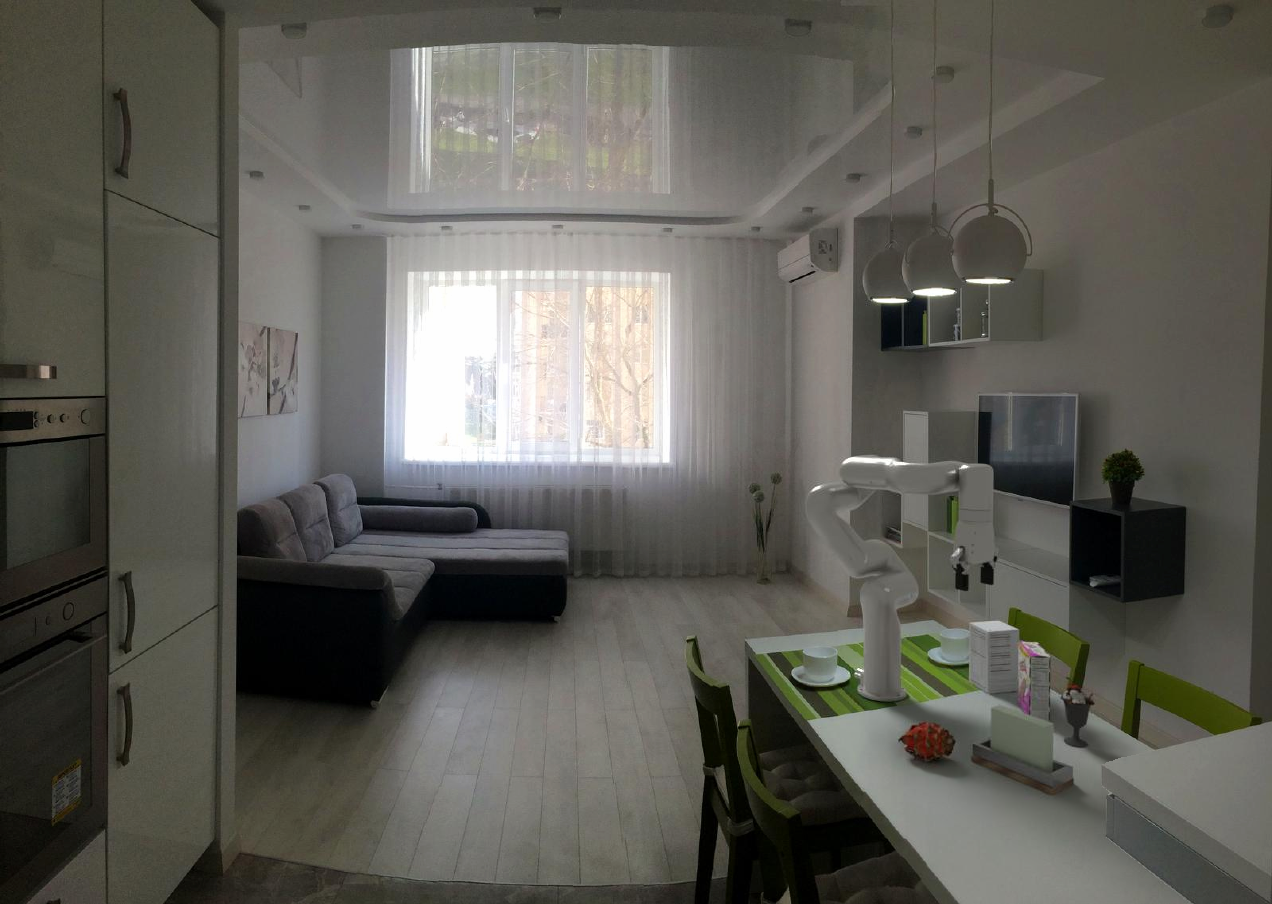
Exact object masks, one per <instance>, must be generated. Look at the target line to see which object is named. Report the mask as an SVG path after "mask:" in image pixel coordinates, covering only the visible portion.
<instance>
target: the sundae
mask: <svg viewBox="0 0 1272 904" xmlns="http://www.w3.org/2000/svg"><path fill="white" fill-rule="evenodd" d="M1065 678H1066V680H1068V681H1069V685H1068V686H1067V687H1066V690H1065V691H1064V693H1063V694H1062V695H1061V696H1060V699H1061V701H1063V705H1064V712H1065V713H1064V714H1065V719H1066V722H1067V723H1068V724H1069V725H1070V726H1071V727H1072V736H1071V737H1070V736H1069V737H1065V738H1064V739H1063V742H1064V743H1065V744H1066V745H1068V746H1070V747H1075V748H1087V747H1088V746H1089V743H1088V741H1086V740H1085V739H1083V738H1081V737H1080V729H1081V728H1084V727H1085V726H1086V725H1087V723H1088V719H1089V712H1090V710H1091V709H1090V708H1091V706H1095V701H1094V699H1092V698H1091V697H1092V696H1093V693H1091V694H1090V695H1089V696H1087V692H1086V691H1085V690H1084V689H1083V688H1081V687H1079V686H1078V685H1076V684H1075V683H1074V682H1073V680H1072V679H1071V678H1070V677H1069V676H1065ZM1071 684H1072V685H1071Z"/></svg>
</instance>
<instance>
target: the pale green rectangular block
mask: <svg viewBox="0 0 1272 904" xmlns="http://www.w3.org/2000/svg"><path fill="white" fill-rule="evenodd" d="M990 709H991V711H990V714H991V715H990V736H991V749H993V750H995V751H998V752H1000V753H1003V754H1005V755H1008V756H1010V757H1013V758H1015V759H1018V760H1020V761H1023V762H1025V763H1028V764H1030V765H1033V766H1035V767H1038V768H1040V769H1043V770H1045V771H1048V772H1050V773H1052V772H1053V759H1054V732H1055V731H1054V725H1055V724H1054V722H1051V721H1050V722H1048V721H1045V720H1042V719H1039V718H1036V717H1034V716H1031V715H1028V714H1025V713H1024V712H1021V711H1019V710H1016V709H1013V708H1011V707H1007V706H1004V705H1001V704H998V705H995V706H992V707H991V708H990Z"/></svg>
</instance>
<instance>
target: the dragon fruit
mask: <svg viewBox="0 0 1272 904" xmlns="http://www.w3.org/2000/svg"><path fill="white" fill-rule="evenodd" d="M897 741H898V743H902V744H903V745H904V746H905V747H904V748H903V749H904V751H905V752H906V753H908V754H909V755H915V756H917V757H919V758H920V757H924V761H925V762H930V761H933V759H934V760H935V761H939V760H941V758H942V756H944V757H950V756H951V754H952V753H953V751H954V748H955V745H956V743H957V741H956V739H955V737H954V736H953V734H952V733H950V731H949V730H948V729H947V728H945V727H941V725H940V724H939V723H937V722H935V721H932V722H928V723H927V721H920V722H918V724H912V725H911V726H910V728H908V730H907V731H905V733H904V734H903V735H902V736H901V737H899V738H898V740H897Z"/></svg>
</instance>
